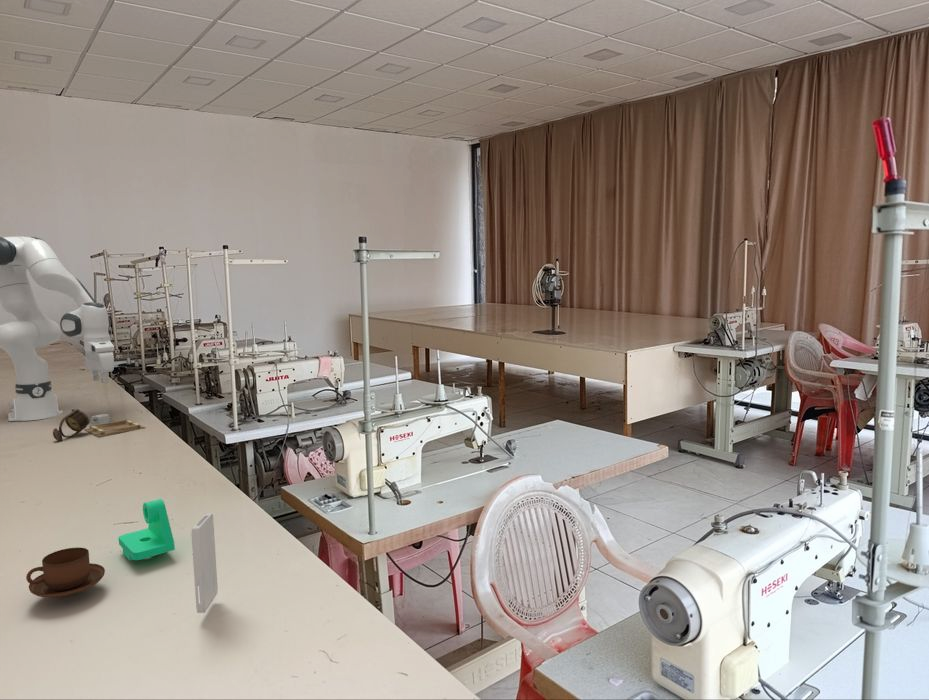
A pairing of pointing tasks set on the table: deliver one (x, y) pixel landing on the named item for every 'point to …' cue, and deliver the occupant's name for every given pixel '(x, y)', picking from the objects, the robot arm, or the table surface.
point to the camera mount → (149, 534)
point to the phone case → (204, 562)
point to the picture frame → (113, 428)
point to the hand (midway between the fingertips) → (100, 381)
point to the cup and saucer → (65, 574)
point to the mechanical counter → (72, 423)
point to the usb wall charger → (100, 419)
